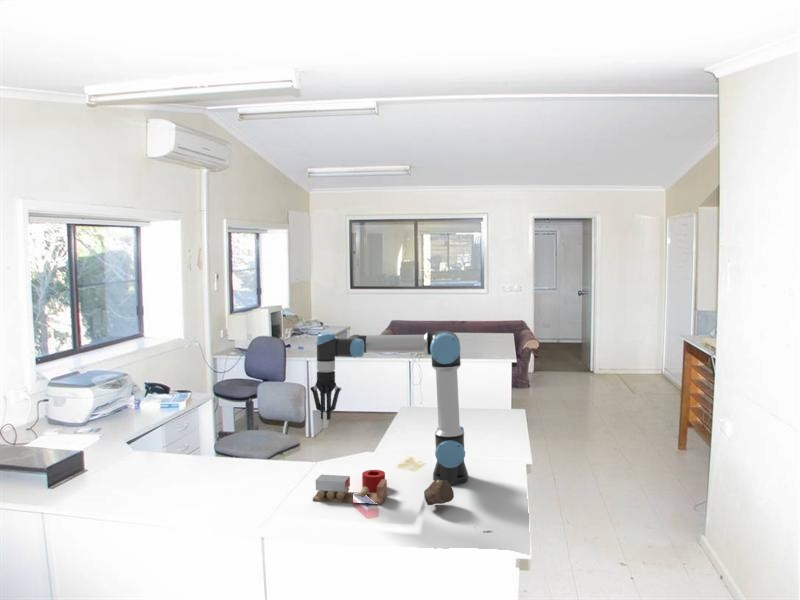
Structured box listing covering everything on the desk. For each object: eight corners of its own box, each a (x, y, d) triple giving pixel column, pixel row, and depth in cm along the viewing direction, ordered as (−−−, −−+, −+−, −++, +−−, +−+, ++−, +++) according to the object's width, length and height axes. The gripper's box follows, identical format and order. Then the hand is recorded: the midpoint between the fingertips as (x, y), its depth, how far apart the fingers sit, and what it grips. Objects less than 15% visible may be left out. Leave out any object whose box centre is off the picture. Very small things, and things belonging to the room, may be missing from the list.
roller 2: (341, 492, 249) (341, 484, 249) (349, 492, 248) (349, 485, 248) (336, 499, 241) (336, 491, 241) (343, 499, 241) (343, 492, 240)
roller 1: (322, 491, 250) (322, 483, 250) (330, 491, 250) (329, 484, 250) (316, 498, 243) (316, 490, 242) (324, 498, 242) (323, 491, 242)
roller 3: (364, 494, 247) (361, 488, 247) (370, 491, 247) (367, 485, 247) (359, 501, 239) (355, 495, 240) (365, 499, 239) (362, 492, 239)
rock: (440, 512, 229) (440, 486, 229) (416, 507, 235) (416, 481, 234) (455, 502, 240) (455, 476, 239) (432, 497, 245) (432, 472, 245)
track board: (386, 496, 246) (386, 479, 246) (382, 505, 237) (381, 487, 237) (319, 492, 251) (319, 475, 251) (312, 500, 242) (312, 483, 242)
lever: (387, 491, 252) (387, 475, 252) (365, 494, 249) (365, 478, 249) (376, 477, 269) (375, 462, 269) (355, 480, 267) (354, 465, 266)
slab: (349, 485, 248) (349, 476, 248) (345, 492, 241) (344, 481, 241) (321, 484, 250) (321, 474, 250) (315, 490, 243) (315, 480, 243)
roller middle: (332, 491, 250) (332, 484, 250) (339, 492, 249) (339, 484, 249) (326, 498, 242) (326, 491, 242) (333, 499, 241) (333, 491, 241)
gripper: (343, 369, 257) (343, 425, 258) (314, 368, 259) (314, 424, 260) (338, 372, 249) (338, 430, 250) (307, 371, 252) (307, 428, 253)
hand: (325, 427), depth 255 cm, fingers closed
